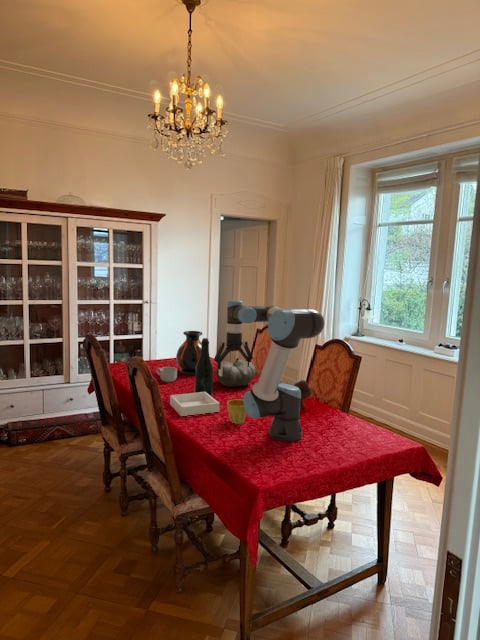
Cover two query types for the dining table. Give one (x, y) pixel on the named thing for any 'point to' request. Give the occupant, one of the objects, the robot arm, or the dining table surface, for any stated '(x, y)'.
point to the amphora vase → (189, 353)
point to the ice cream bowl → (303, 391)
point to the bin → (194, 403)
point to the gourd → (236, 374)
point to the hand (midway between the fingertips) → (233, 374)
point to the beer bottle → (204, 370)
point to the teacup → (167, 373)
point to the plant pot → (236, 411)
